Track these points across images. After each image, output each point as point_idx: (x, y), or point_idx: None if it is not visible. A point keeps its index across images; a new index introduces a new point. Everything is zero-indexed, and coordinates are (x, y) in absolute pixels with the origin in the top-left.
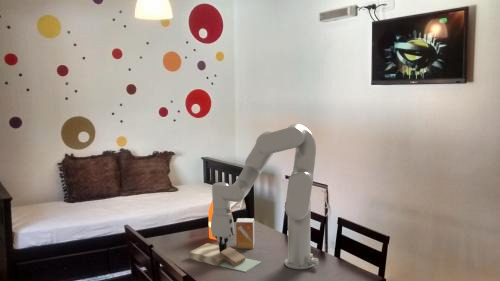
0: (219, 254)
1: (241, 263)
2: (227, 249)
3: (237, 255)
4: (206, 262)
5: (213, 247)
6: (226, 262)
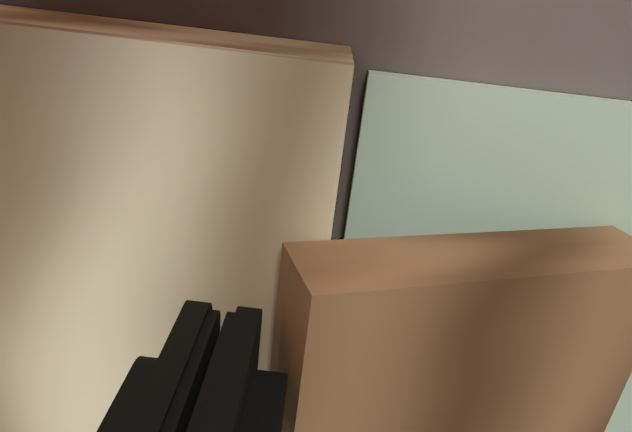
0: None
1: None
2: (330, 408)
3: (550, 358)
4: None
5: None
6: None
